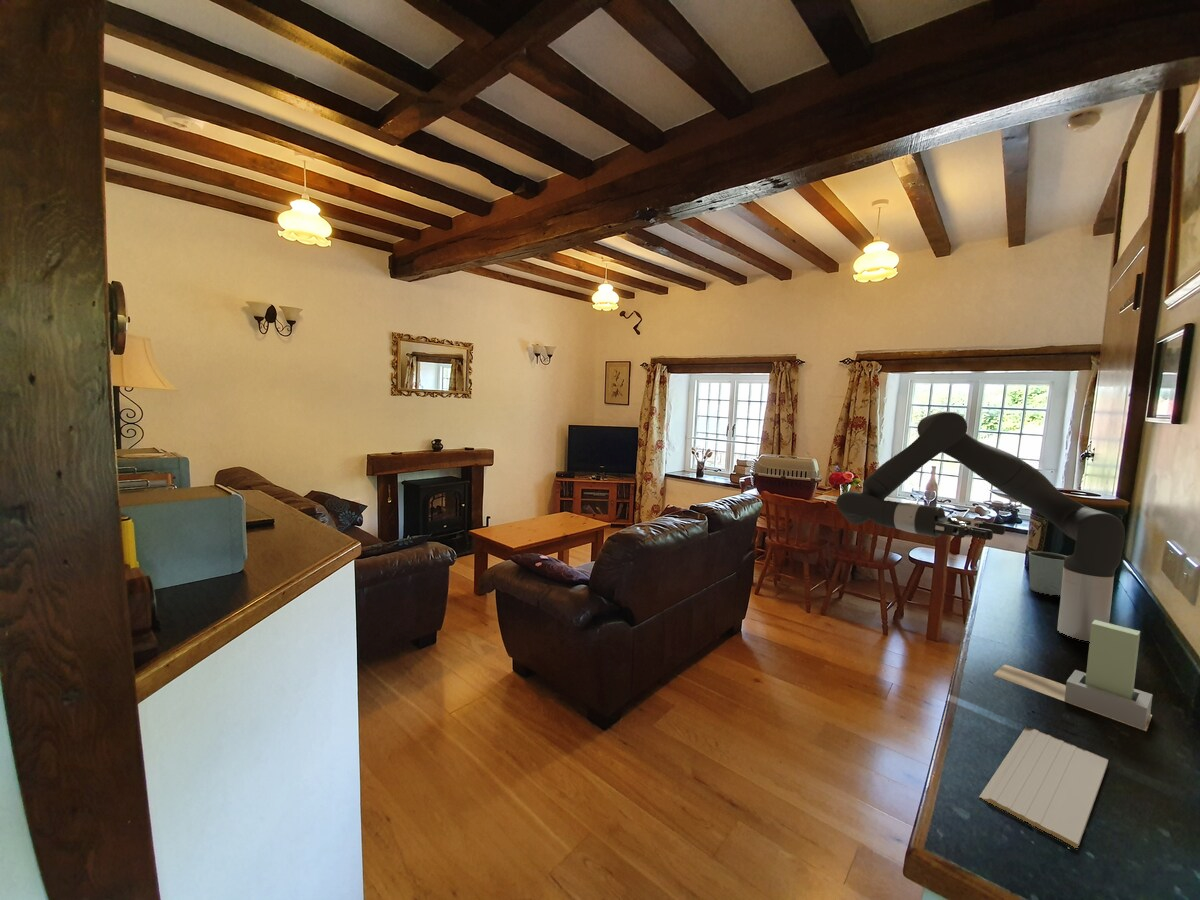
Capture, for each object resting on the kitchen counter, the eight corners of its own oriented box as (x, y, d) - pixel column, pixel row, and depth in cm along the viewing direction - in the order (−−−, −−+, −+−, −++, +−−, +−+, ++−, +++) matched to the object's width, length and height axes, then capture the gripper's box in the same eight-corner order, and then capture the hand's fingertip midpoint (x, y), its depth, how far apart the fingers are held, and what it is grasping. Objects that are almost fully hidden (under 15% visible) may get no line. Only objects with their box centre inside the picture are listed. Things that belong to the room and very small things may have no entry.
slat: (1086, 697, 96) (1094, 619, 95) (1130, 713, 91) (1140, 631, 90) (1083, 702, 94) (1091, 623, 93) (1128, 718, 90) (1137, 635, 88)
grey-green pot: (1071, 599, 151) (1075, 562, 150) (1028, 592, 157) (1032, 556, 156) (1063, 589, 160) (1066, 554, 159) (1022, 583, 165) (1026, 549, 164)
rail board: (1004, 668, 109) (1004, 664, 108) (1151, 720, 91) (1152, 715, 91) (992, 679, 104) (992, 675, 104) (1145, 736, 86) (1146, 730, 86)
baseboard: (966, 795, 73) (1077, 854, 63) (968, 777, 72) (1079, 834, 63) (1020, 718, 91) (1112, 755, 82) (1021, 704, 91) (1114, 739, 82)
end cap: (1073, 688, 99) (1075, 669, 99) (1150, 714, 91) (1152, 694, 91) (1064, 700, 95) (1066, 681, 95) (1144, 729, 86) (1146, 708, 86)
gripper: (908, 507, 119) (989, 520, 106) (931, 501, 127) (1009, 513, 114) (905, 537, 119) (986, 553, 106) (929, 529, 128) (1006, 544, 115)
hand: (998, 532), depth 110 cm, fingers open, 8 cm apart
